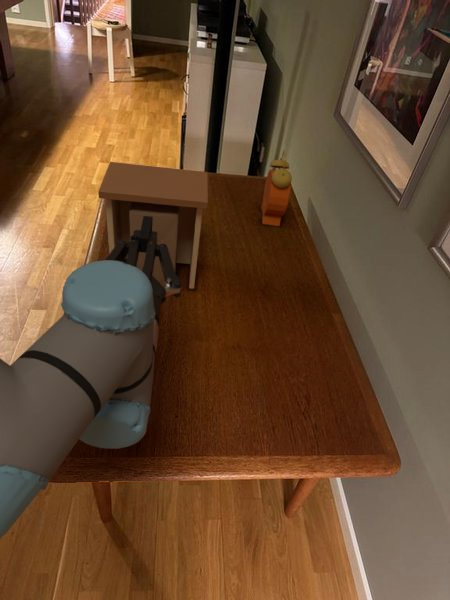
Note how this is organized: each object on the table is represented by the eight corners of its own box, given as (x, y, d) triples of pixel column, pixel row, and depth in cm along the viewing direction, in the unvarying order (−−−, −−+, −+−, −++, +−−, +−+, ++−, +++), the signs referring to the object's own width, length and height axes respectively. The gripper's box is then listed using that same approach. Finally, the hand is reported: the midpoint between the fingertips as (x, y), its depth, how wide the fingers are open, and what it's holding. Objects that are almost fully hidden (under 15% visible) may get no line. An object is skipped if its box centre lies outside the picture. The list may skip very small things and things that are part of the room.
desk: (197, 294, 95) (208, 202, 79) (106, 287, 93) (98, 191, 76) (197, 260, 105) (207, 172, 88) (115, 253, 102) (110, 161, 86)
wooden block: (131, 285, 94) (128, 210, 81) (136, 259, 102) (135, 187, 88) (174, 288, 95) (178, 215, 82) (176, 262, 103) (180, 192, 89)
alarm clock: (281, 229, 122) (298, 166, 108) (261, 226, 121) (276, 163, 108) (278, 207, 131) (293, 147, 118) (259, 204, 131) (273, 144, 117)
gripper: (79, 340, 53) (110, 237, 70) (178, 346, 54) (184, 244, 71) (72, 298, 48) (107, 199, 65) (182, 306, 49) (188, 207, 66)
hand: (148, 223), depth 68 cm, fingers closed
